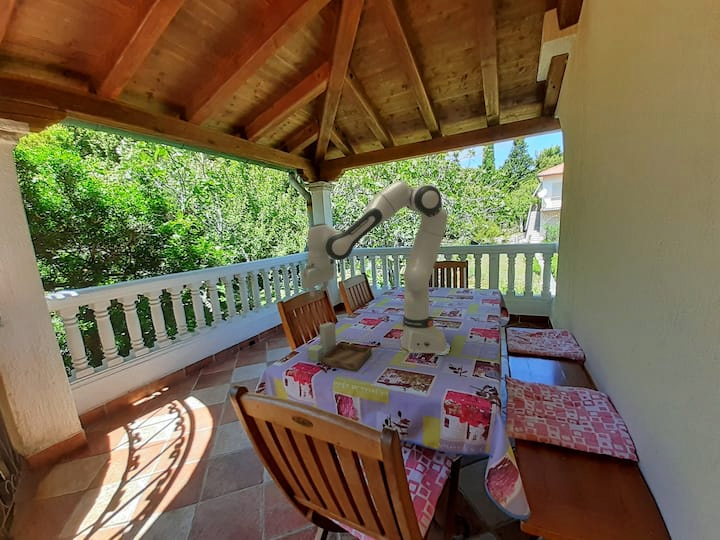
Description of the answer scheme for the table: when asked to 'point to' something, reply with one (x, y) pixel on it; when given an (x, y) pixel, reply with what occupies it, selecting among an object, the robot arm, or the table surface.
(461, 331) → the table surface
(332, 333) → the skincare box
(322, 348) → the sage block
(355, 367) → the walnut tray
